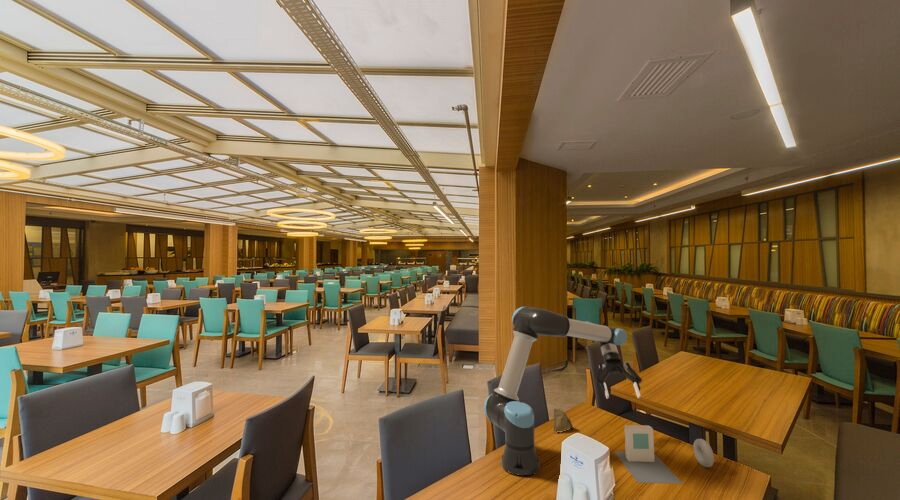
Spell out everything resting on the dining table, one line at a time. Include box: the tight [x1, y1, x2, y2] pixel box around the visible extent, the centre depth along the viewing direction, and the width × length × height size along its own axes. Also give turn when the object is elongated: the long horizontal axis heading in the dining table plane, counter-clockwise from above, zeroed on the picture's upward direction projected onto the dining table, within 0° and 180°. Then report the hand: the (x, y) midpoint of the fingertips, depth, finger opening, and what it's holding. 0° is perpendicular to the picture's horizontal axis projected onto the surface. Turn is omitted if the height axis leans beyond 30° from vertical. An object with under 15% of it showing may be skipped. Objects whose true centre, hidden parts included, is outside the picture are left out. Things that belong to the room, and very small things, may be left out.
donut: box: [692, 438, 715, 468], centre depth 141 cm, size 10×4×10 cm, turn 175°
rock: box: [553, 408, 574, 433], centre depth 173 cm, size 11×9×10 cm
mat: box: [614, 451, 684, 485], centre depth 140 cm, size 22×16×1 cm
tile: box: [624, 424, 655, 462], centre depth 145 cm, size 3×10×13 cm, turn 86°
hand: (623, 397), depth 161 cm, fingers open, 13 cm apart
